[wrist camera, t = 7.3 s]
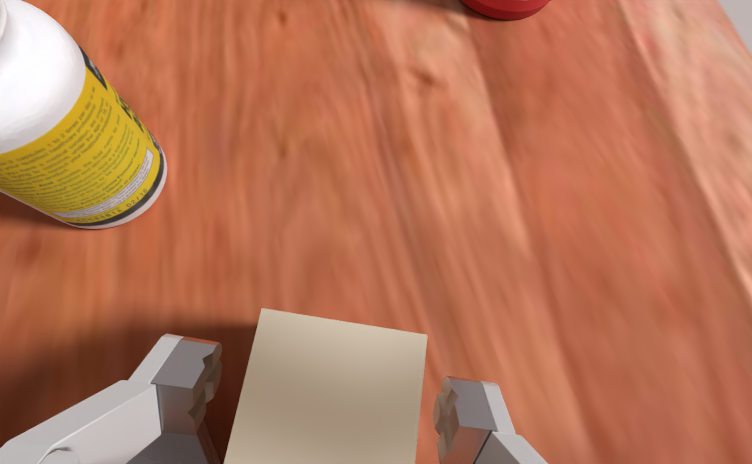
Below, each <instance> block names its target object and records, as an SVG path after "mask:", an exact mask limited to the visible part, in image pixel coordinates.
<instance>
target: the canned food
mask: <svg viewBox="0 0 752 464" xmlns="http://www.w3.org/2000/svg"><path fill="white" fill-rule="evenodd" d="M461 1H462V2H463V3H464V4H465V5H467V6H468V7H469V8H471V9H472V10H474V11H476V12H478V13H480V14H483V15H485V16H488V17H492V18H497V19H505V20H515V19H522V18H525V17H529V16H531V15H533V14H535V13H537V12H538V11H539V10H541V9H542V8H543V7H544V6H545V5H546V4H547V3H548V2H549V1H550V0H461Z"/></svg>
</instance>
